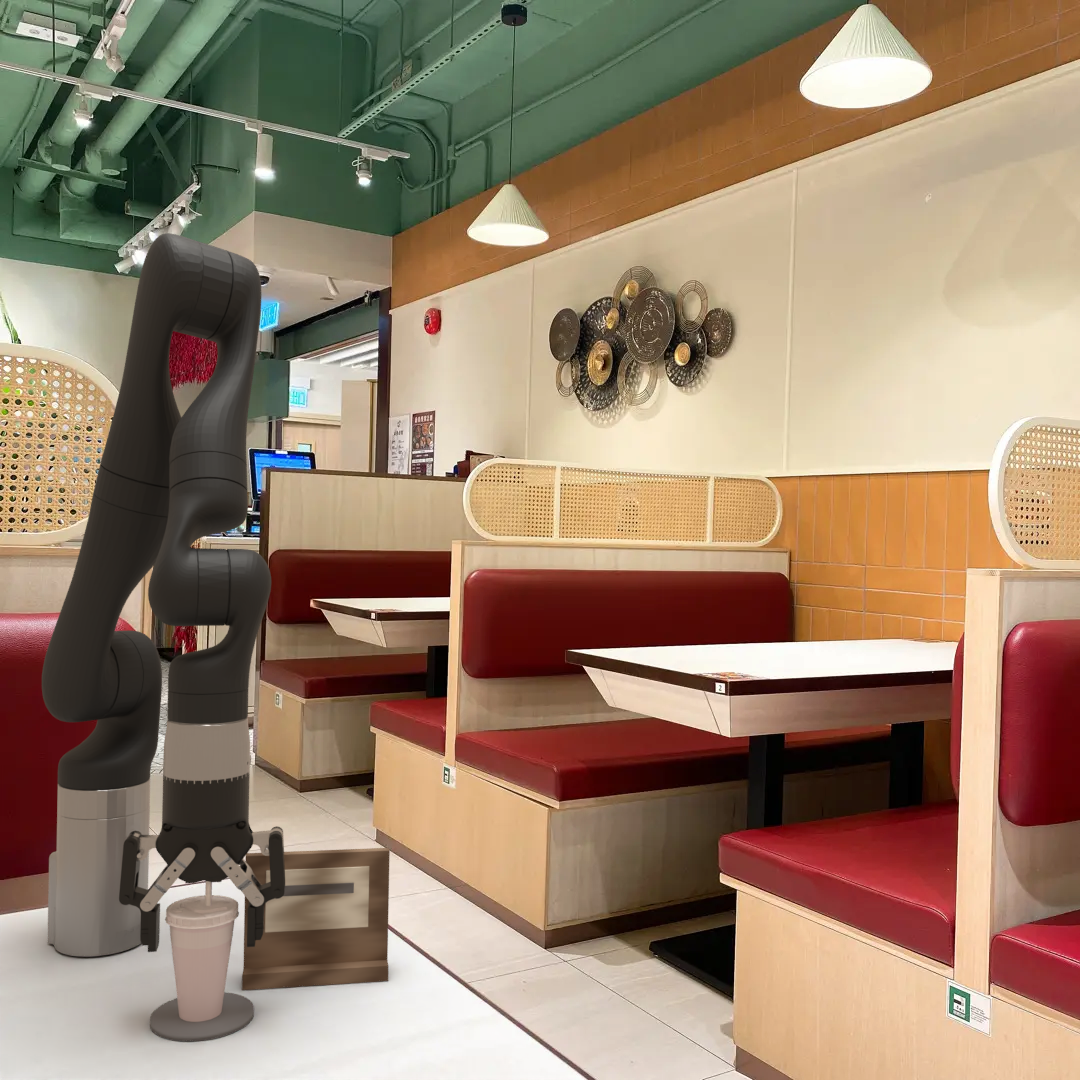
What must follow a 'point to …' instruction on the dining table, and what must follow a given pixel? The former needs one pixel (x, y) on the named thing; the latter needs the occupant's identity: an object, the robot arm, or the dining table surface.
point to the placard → (322, 920)
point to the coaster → (229, 1021)
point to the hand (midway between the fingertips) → (203, 946)
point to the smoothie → (201, 952)
